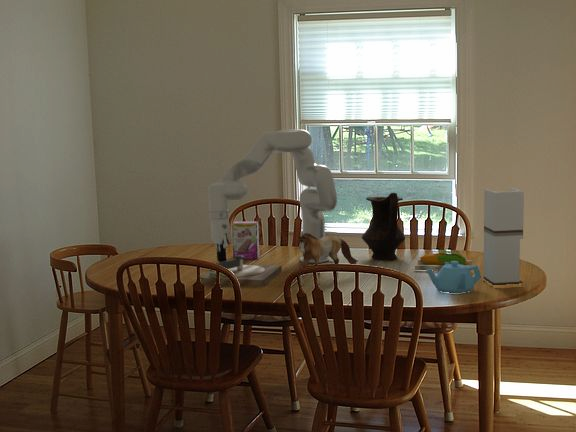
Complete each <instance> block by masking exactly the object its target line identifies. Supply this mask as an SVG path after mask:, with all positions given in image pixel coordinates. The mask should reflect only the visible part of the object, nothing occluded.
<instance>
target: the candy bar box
mask: <svg viewBox="0 0 576 432" xmlns="http://www.w3.org/2000/svg"><path fill="white" fill-rule="evenodd" d="M231 225H232V226H231V227H232V257H233V258H232V259H235V256H236V255H244V258H243V260H258V259H259V258H260V241H259V240H260V236H259V233H260V232H259V230H260V229H259V221H233V222H232V223H231Z"/></svg>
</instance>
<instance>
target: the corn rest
mask: <svg viewBox="0 0 576 432" xmlns="http://www.w3.org/2000/svg"><path fill="white" fill-rule="evenodd" d="M424 264H427V263H424V262H422V261H421V260H420V258H419V259H417V264H414V271H415V270H427V269H431V270H433V271H440V269H441V268H442V267H443V266H440V265H424ZM466 265H472V266H473V260H466ZM466 267H469V266H466Z"/></svg>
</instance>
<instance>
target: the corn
mask: <svg viewBox="0 0 576 432" xmlns="http://www.w3.org/2000/svg"><path fill="white" fill-rule="evenodd" d="M432 252H434V253H429V254H428V253H427V254H424V255H422V256H420V257H419V259H420V260H421V261H422V262H424V263H427V264H424V265H440V266H444V265H445V262H449V264H451V261H458V264H461V265H466V261H467V260H466V258H465V256H463V255H462V254H461V253H459V252H456V251H452V250H451V251H450V250H432ZM435 252H437V253H435Z"/></svg>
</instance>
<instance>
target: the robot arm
mask: <svg viewBox="0 0 576 432" xmlns="http://www.w3.org/2000/svg"><path fill="white" fill-rule="evenodd" d="M312 141H313V139H312V135H311V133H310V132H309V131H308V130H305V129H300V128H299V129H298V128H297V129H296V128H295V129H294V128H284V129H280V130H278V131H277V130H267V131H264V132H262V133H261V134H260V135H259V136H258V138H257V139H256V140H255V141H254V143H253V145H252V146H251V147H250V149H249V150H248V151H247V152H246V154H245V155H244V156H243V157H241V158H240V159H239V160H238V161H236V162H235V163H234V164H232V165H231V166H229V167H228V168H227V169H226V170H225V171H224V172H223V174H222V175H221V176H220V178H219V179H218V181H217V182H215V183H210V184H209V185H208V186H207V196H208V211H209V212H208V213H209V220H210V235H211V237H210V239H211V241H212V242H213V243H214V245H215V249H216V260H217V262H218V263H219V262H221V261H226V260H227V248H228V247H229V246H228V245H229V244H232V232H231V226H230V225H231V224H230V221H229V218H230V213H229V211H230V210H229V201H241V200H243V199H244V198H245V197H247V195H248V193H249V191H248V186H247V185H246V184H245V183H244V182H243V181H241V180H242V179H243V178H245V177H248V176H250V175H252V174H255V173H258V172H259V171H261V170H262V169H263V168H264V166H265V165H266V164H267V162H268V161H269V160H270V158H271V157H272V155H273V154H274V153H290V155H291V157H292V158H293V161H294V167H295V170H296V175H297V180H298V181H299V183H300V184H301V185H302V186H304V187H305V186H306V187H307V188H304V189H303V190H302V191H301V193H300V195H299V204H300V210H301V216H302V218H301V219H302V235H303V234H305V233H309V234H311V235H312V236H314V237H316V238H317V239H321V238H322V237H324V236H326V234H325V233H326V232H325V231H326V230H325V229H326V227H325V226H326V224H325V221H326V220H325V216H324V212H326V213H328V212H332V211H334V210H335V209H336V207H337V205H338V195H337V190H336V185H335V180H334V176H333V172H332V171H331V169H330V168H329V167H328V166H327V165H324V164H317V163H316V159H315V157H314V153H313V150H312V148H311V145H312ZM303 259H304V258H303V255H302V256H300V257H299V261H300V262H302V263H303ZM329 259H330V256H329V254H327V255H325V256H322V257H320V258H319V263H320V264H321V263H325V262H328V261H329ZM307 264H316V263H315V261H314V260H313V259H311V260H309V261H308V263H307Z"/></svg>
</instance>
